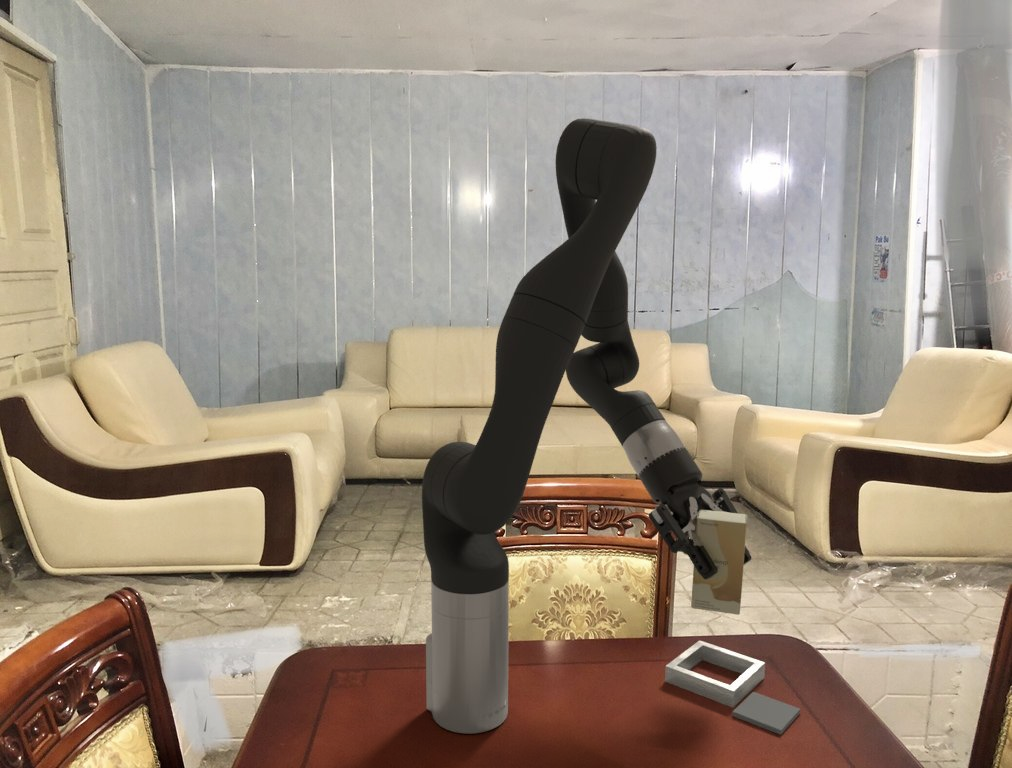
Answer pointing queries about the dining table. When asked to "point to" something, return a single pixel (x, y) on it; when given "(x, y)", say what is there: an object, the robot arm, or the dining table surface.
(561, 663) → the dining table surface
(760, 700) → the pad
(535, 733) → the dining table surface
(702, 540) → the skincare box
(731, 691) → the grey square frame
